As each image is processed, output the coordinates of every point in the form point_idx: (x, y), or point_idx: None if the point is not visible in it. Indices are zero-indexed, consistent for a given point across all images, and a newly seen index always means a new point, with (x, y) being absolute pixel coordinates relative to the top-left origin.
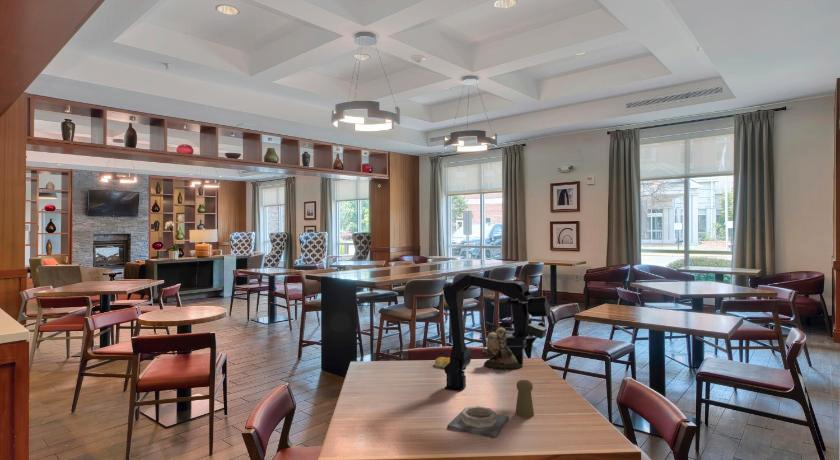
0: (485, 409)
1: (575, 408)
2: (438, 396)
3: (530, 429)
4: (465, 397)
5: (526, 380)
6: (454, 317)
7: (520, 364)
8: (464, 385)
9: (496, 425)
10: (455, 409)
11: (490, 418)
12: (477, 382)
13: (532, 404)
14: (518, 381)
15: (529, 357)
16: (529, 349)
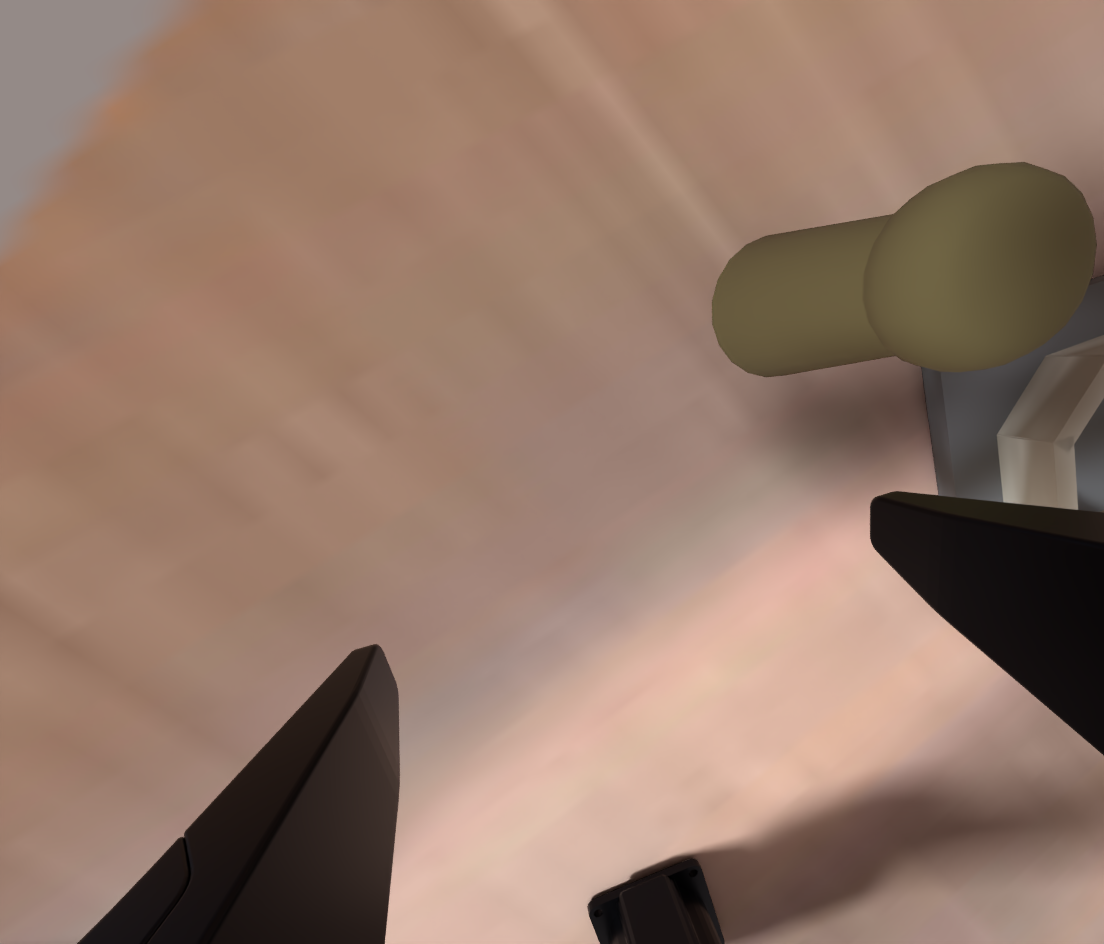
0: (1069, 460)
1: (372, 14)
2: (844, 865)
3: (982, 130)
4: (760, 764)
5: (1014, 250)
6: None
7: (889, 526)
8: (649, 894)
9: (1102, 313)
10: (956, 669)
11: None
12: (456, 914)
13: (810, 231)
14: (1049, 336)
15: (382, 670)
16: (321, 834)
